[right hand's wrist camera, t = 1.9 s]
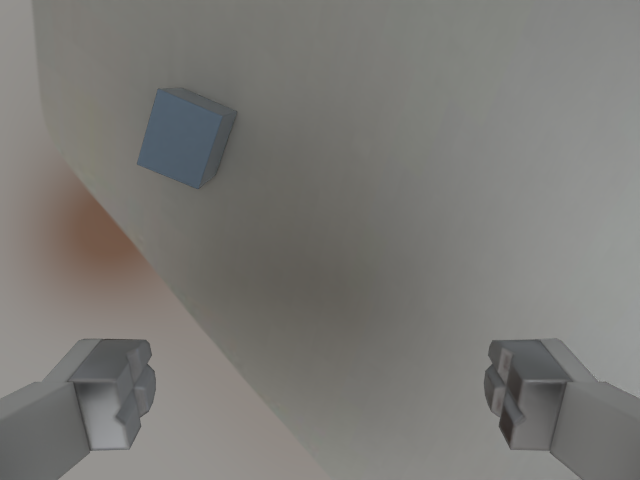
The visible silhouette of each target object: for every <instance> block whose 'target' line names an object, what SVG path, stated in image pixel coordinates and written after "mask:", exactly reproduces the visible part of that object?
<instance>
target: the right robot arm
mask: <svg viewBox="0 0 640 480" xmlns="http://www.w3.org/2000/svg"><path fill="white" fill-rule="evenodd" d="M151 356H152V353H151V348H150V344H149V342H148V341H147V340H132V339H83V340H79V341H78V342H77V343H76V344H75V345H74V346H73V347H72V349H71V350H70V351H69V352H68V353H67V354H66V355H65V356H64V358H63V359H62V360H61V361H60V362H59V363H58V364H57V365H56V366H55V367H54V369H53V370H52V371H51V372H50V373H49V374H48V375H47V376H46V377H45V379H44V380H43V381H42V382H34V383H31V384H29V385H27V386H25V387H23V388H21V389H19V390H17V391H15V392H13V393H11V394H9V395H7V396H5V397H3V398H1V399H0V480H58V479H59V478H60V477H61V476H63V475H64V474H65V473H66V472H67V471H69V470H70V469H71V468H72V467H73V466H75V465H76V464H77V463H78V462H80V461H81V460H82V459H83V458H84V457H86V456H87V455H88V454H89V453H90V451H96V450H129V449H130V447H131V445H132V444H133V442H134V440H135V438H136V436H137V434H138V432H139V430H140V428H141V423H140V417H142V416H143V415H145V414H146V413H147V412H149V410H150V408H151V405H152V403H153V400H154V395H155V391H156V378H155V371H154V370H153V369H152V368H151V367H150V366H149V365H148V364H147V363H148V361H149V359H150V358H151ZM488 356H489V358H490V359H491V361H492V363H493V364H492V365H491V366H490V367H489V368H488V369H487V370H486V371H485V379H484V389H485V396H486V400H487V403H488V405H489V408H490V410H491V412H493V413H494V414H495V415H497V416H498V417H500V422H499V428H500V430H501V432H502V434H503V436H504V438H505V440H506V442H507V443H508V445H509V447H510V449H511V450H543V451H550V453H551V454H552V455H553V456H555V457H556V458H557V459H558V460H559V461H561V462H562V463H563V464H564V465H565V466H567V467H568V468H569V469H570V470H571V471H573V472H574V473H575V474H576V475H577V476H579V477H580V478H581V479H582V480H640V399H639V398H637V397H635V396H633V395H631V394H629V393H627V392H625V391H623V390H621V389H619V388H617V387H615V386H613V385H611V384H609V383H607V382H598V381H597V380H596V379H595V378H594V376H593V375H592V374H591V373H590V372H589V371H588V370H587V369H586V367H585V366H584V365H583V364H582V363H581V362H580V361H579V360H578V359H577V357H576V356H575V355H574V354H573V353H572V352H571V351H570V350H569V349H568V347H567V346H566V345H565V344H564V343H563V342H562V341H561V340H559V339H535V340H492V342H491V345H490V347H489V353H488Z"/></svg>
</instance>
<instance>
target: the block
mask: <svg viewBox="0 0 640 480" xmlns="http://www.w3.org/2000/svg"><path fill="white" fill-rule="evenodd" d="M236 114H237V111H235V110H232V109H230V108H228V107H225V106H223V105H221V104H218V103H216V102H214V101H212V100H209V99H207V98H205V97H202V96H200V95H198V94H195V93H193V92H191V91H188V90H186V89H184V88H166V89H158V90H157V94H156V98H155V101H154V105H153V108H152V112H151V115H150V119H149V122H148V126H147V130H146V133H145V137H144V140H143V144H142V147H141V151H140V155H139V158H138V162H137V165H140V166H142V167H145V168H147V169H150V170H152V171H155V172H157V173H160V174H162V175H164V176H167V177H169V178H172V179H174V180H177V181H179V182H182V183H184V184H187V185H189V186H192V187H194V188H197V189H199V188H200V187H201V186H203V185H204V184H205V183H206V182H207V181H209V180H210V179H211V178H212V177H214V176H215V175H216V172H217V169H218V166H219V163H220V160H221V158H222V155H223V152H224V149H225V146H226V143H227V140H228V137H229V134H230V131H231V129H232V126H233V123H234V120H235V117H236Z"/></svg>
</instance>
